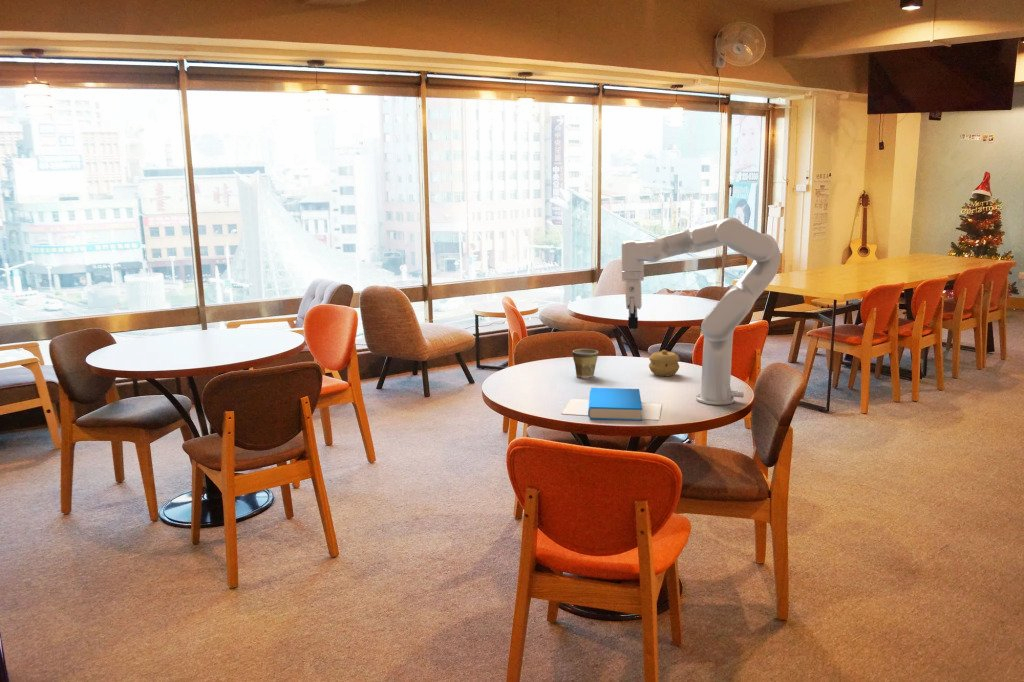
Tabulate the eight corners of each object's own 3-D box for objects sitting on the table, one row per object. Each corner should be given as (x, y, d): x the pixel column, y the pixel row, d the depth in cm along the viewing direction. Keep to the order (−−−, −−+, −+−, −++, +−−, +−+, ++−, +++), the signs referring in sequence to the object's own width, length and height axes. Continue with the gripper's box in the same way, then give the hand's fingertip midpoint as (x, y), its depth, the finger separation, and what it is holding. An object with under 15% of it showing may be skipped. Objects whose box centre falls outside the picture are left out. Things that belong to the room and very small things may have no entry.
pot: (676, 371, 318) (677, 347, 316) (681, 378, 306) (682, 353, 304) (646, 371, 318) (647, 347, 316) (650, 378, 306) (651, 353, 304)
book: (639, 388, 274) (643, 407, 249) (638, 401, 275) (642, 420, 250) (589, 387, 276) (588, 405, 251) (588, 399, 276) (588, 419, 252)
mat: (661, 404, 269) (661, 404, 269) (658, 420, 251) (658, 419, 251) (570, 399, 276) (570, 398, 276) (561, 414, 258) (561, 413, 258)
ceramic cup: (598, 379, 305) (599, 353, 303) (572, 379, 305) (573, 353, 303) (596, 371, 317) (596, 347, 315) (570, 371, 318) (571, 347, 316)
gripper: (642, 278, 268) (642, 332, 272) (644, 273, 283) (645, 325, 286) (620, 278, 270) (620, 331, 273) (623, 274, 284) (623, 325, 288)
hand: (633, 328), depth 280 cm, fingers closed
